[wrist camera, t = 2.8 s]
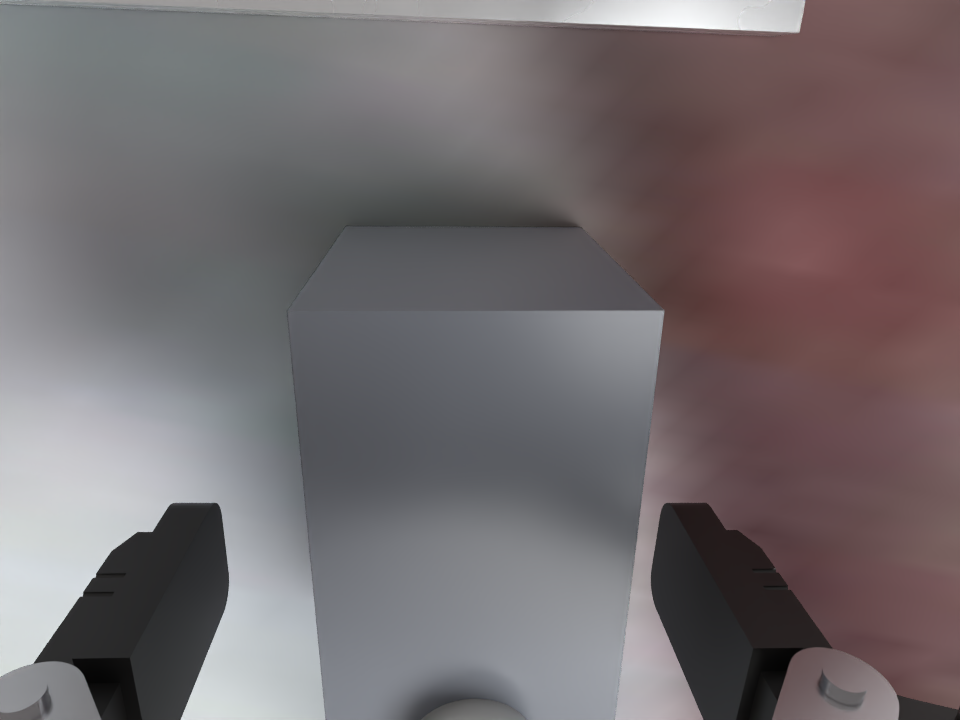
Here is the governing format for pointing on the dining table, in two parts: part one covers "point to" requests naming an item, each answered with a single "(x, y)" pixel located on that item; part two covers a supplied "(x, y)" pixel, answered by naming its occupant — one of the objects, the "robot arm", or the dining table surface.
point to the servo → (472, 469)
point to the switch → (508, 12)
